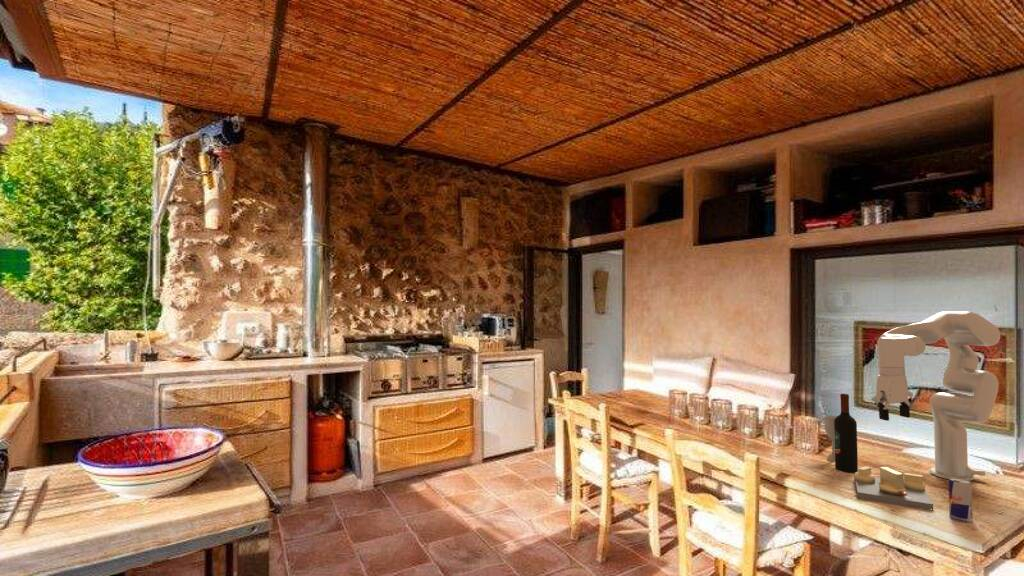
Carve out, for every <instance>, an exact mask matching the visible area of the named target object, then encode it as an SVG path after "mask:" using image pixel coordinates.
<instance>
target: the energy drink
mask: <svg viewBox="0 0 1024 576" xmlns="http://www.w3.org/2000/svg"><path fill="white" fill-rule="evenodd" d="M947 483H948V504H949V505H948V509H949V510H948V511H949V512H948V514H949V517H950V519H952V520H953V519H954V520H953V521H956V522H960V523H963V522H965V523H964V524H970V523H973V520H974V517H973V516H974V515H973V513H974V512H973V487H972V486H973V485H972V482H971V481H969V480H966V479H962V478H955V477H951V478H949V479H948V482H947Z"/></svg>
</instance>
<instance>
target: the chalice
mask: <svg viewBox="0 0 1024 576" xmlns="http://www.w3.org/2000/svg"><path fill="white" fill-rule="evenodd" d="M837 416H838V415H823V416H822V418H823V419H824V431H825V433H826V434H827V437H828V438H829V439H831V444H830V445H831V447H830V449H831V453H829V454H828V456H827V458H826V460H828V461H830V462H834V463H835V436H834V419H835V418H836V417H837Z"/></svg>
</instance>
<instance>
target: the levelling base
mask: <svg viewBox="0 0 1024 576" xmlns="http://www.w3.org/2000/svg"><path fill="white" fill-rule="evenodd" d="M853 479H854V480H853V481H854V484H855V491H856V496H857V498H858V499H861V500H867V501H874V502H879V503H886V504H892V505H898V506H904V507H909V506H910V508H915V507H918V508H917V509H921V508H925V509H924V510H927V509H932V510H931V511H934V503H933V502H932V500H931V498H930V496H929V494H928V492H927V491H926V487H925V486H926V484H925V482H924V476H923V475H922V474H915V473H909V472H904V473H903V480H904V487H905V493H907V496H904V495H893V494H888V493H885V492H882V491H881V490H879V482H880V477H876V475H875V474H872V466H871V467H870V466H863V467H858V472H855V473H854V475H853Z"/></svg>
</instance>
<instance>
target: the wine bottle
mask: <svg viewBox="0 0 1024 576" xmlns="http://www.w3.org/2000/svg"><path fill="white" fill-rule="evenodd" d="M849 395H850V394H848V393H840V397H839V398H840V414H839V415H836V416H837V417H836V418H835V419H834V436H835V462H834V465H835V467H834V468H835V470H837V471H838V472H842V473H847V474H848V473H850V474H855V472H858V468H859V464H858V461H859V460H858V429H857V428H858V424H857V420H856V419H855V418H854V417H853V416H851V415H850V396H849Z"/></svg>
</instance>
